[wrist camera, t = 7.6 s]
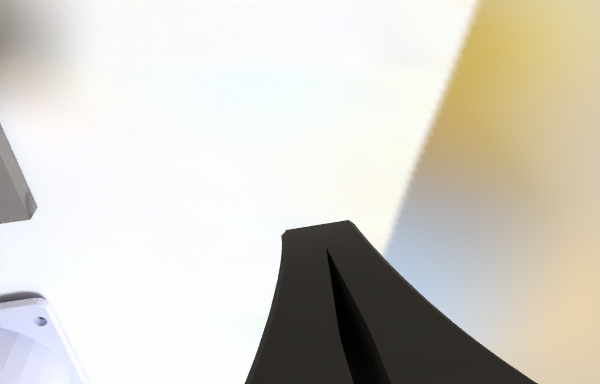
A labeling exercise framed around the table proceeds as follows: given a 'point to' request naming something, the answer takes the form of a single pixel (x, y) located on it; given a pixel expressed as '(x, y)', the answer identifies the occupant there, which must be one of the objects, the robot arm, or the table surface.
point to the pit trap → (13, 187)
